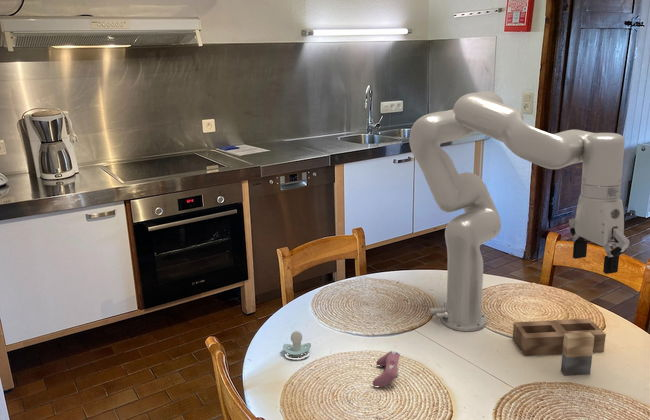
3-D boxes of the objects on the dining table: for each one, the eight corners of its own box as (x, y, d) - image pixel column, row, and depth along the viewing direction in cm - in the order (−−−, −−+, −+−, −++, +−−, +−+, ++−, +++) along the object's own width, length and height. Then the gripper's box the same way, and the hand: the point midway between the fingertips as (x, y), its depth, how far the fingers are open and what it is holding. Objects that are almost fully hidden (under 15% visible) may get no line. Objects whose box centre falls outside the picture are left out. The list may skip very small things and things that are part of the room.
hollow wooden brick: (524, 355, 131) (525, 338, 130) (512, 339, 139) (513, 322, 137) (603, 351, 131) (605, 334, 130) (587, 335, 139) (589, 318, 137)
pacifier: (310, 361, 133) (311, 348, 139) (309, 340, 131) (310, 327, 137) (282, 362, 133) (284, 349, 139) (280, 341, 131) (282, 328, 137)
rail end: (564, 375, 122) (568, 338, 120) (560, 371, 124) (564, 333, 121) (590, 374, 122) (594, 336, 120) (585, 369, 124) (590, 332, 121)
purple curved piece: (388, 396, 121) (402, 373, 118) (370, 386, 121) (383, 364, 118) (391, 371, 130) (404, 350, 127) (375, 362, 130) (387, 341, 128)
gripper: (647, 198, 106) (639, 276, 110) (587, 181, 122) (582, 250, 127) (615, 202, 104) (608, 281, 109) (559, 184, 120) (554, 254, 125)
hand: (594, 264), depth 118 cm, fingers open, 9 cm apart
